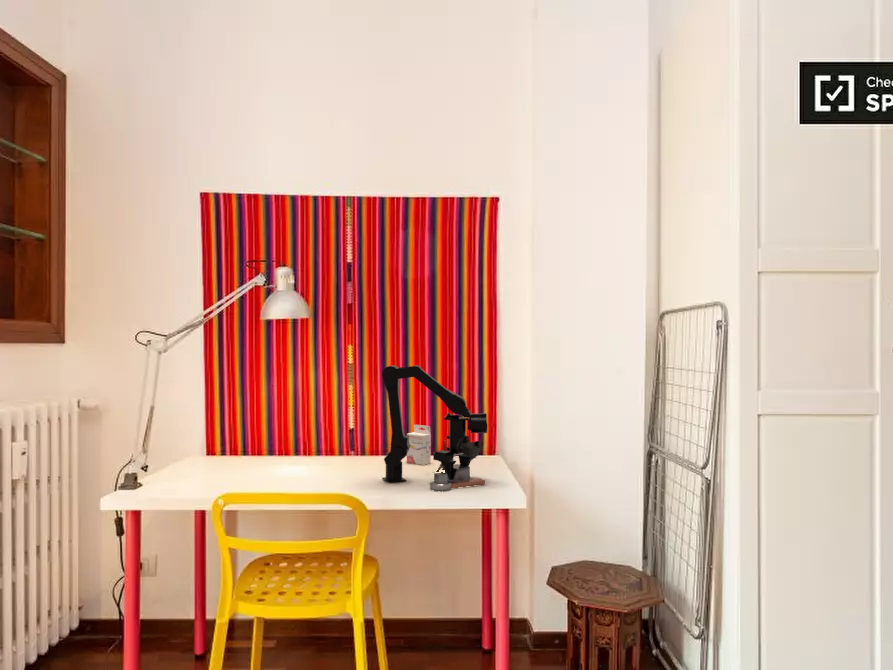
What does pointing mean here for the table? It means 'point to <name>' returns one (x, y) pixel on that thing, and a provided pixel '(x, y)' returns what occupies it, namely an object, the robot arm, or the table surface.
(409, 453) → the ink cartridge box
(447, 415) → the robot arm
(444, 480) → the hammer
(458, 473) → the socket
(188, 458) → the table surface
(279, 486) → the table surface
